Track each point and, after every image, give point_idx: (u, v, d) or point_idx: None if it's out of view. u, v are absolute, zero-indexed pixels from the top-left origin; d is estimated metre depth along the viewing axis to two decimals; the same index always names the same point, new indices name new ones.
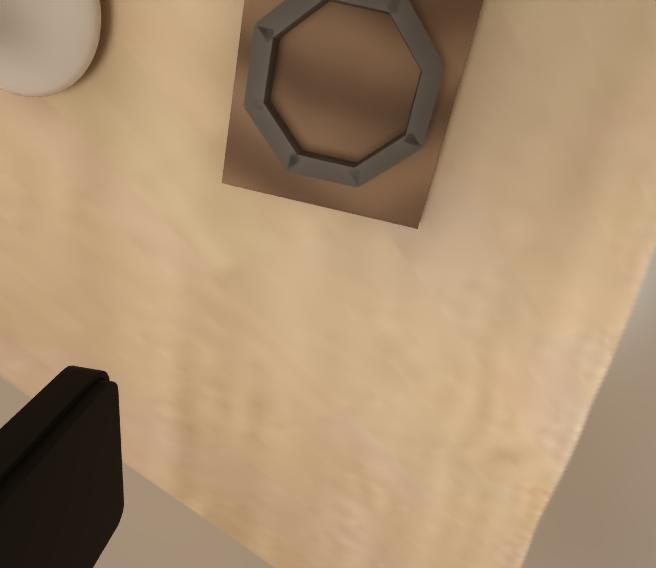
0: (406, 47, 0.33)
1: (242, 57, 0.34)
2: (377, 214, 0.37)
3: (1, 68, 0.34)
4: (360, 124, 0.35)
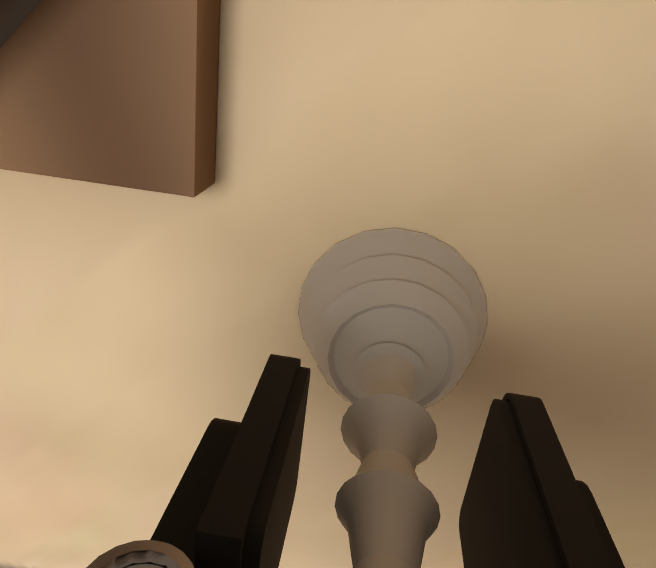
0: None
1: None
2: None
3: None
4: None
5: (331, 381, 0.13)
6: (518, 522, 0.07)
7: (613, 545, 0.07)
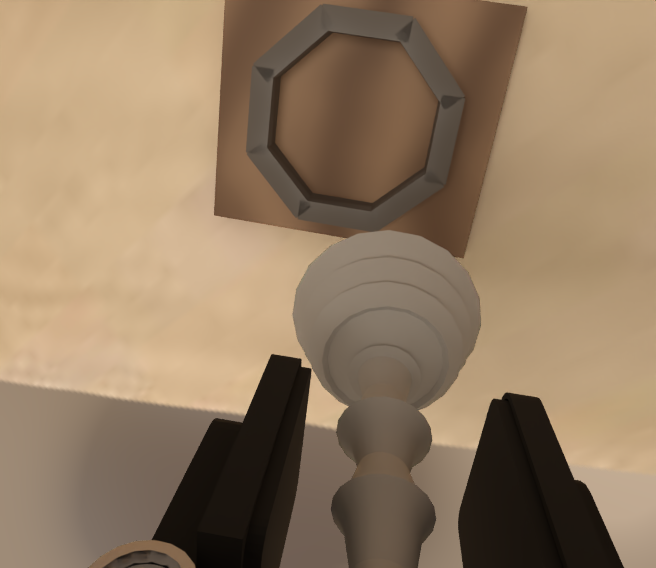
0: (393, 186, 0.32)
1: None
2: (221, 170, 0.33)
3: None
4: (315, 144, 0.32)
5: (326, 383, 0.13)
6: (517, 522, 0.07)
7: (613, 545, 0.07)
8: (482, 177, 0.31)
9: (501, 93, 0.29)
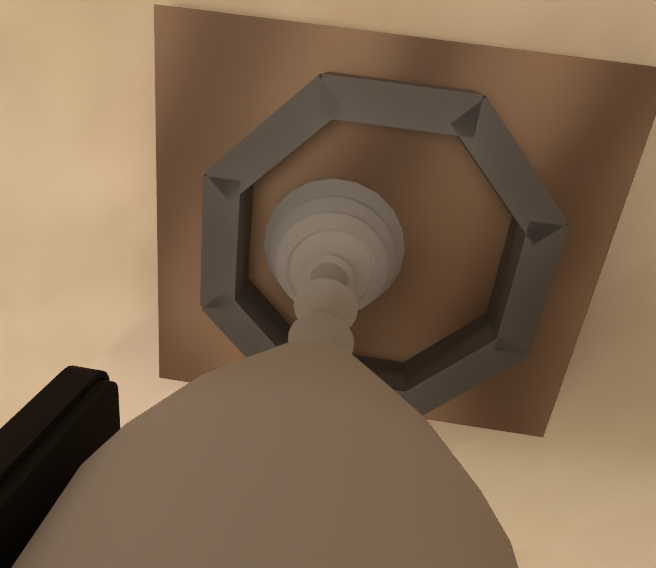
0: (437, 340, 0.20)
1: (415, 48, 0.17)
2: (167, 317, 0.21)
3: None
4: None
5: (289, 290, 0.18)
6: None
7: None
8: (578, 327, 0.20)
9: (617, 205, 0.18)
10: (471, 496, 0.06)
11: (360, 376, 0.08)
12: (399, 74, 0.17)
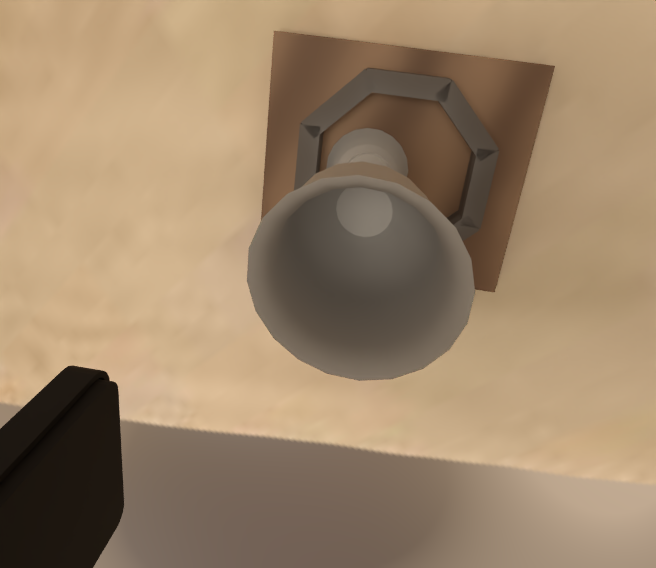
0: None
1: (416, 54, 0.30)
2: None
3: None
4: None
5: None
6: None
7: None
8: (512, 218, 0.33)
9: (530, 143, 0.32)
10: (422, 193, 0.20)
11: None
12: (407, 69, 0.31)
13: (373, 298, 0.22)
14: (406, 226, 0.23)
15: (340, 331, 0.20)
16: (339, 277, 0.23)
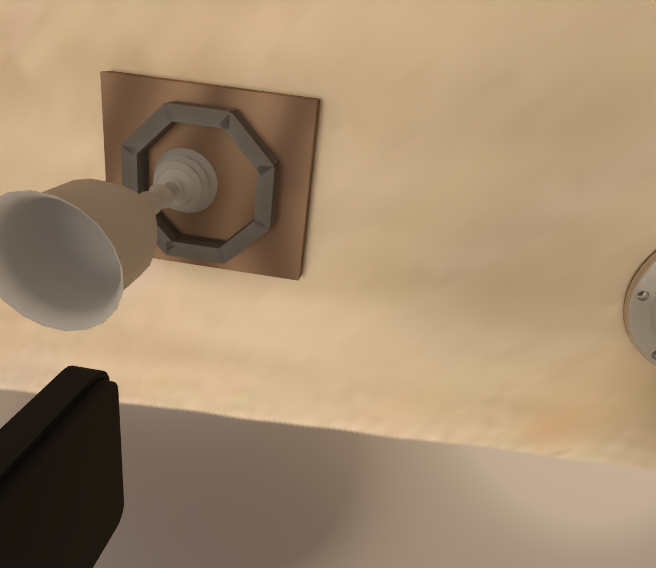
0: (240, 228, 0.42)
1: (211, 91, 0.38)
2: None
3: None
4: None
5: None
6: None
7: None
8: (303, 220, 0.41)
9: (308, 160, 0.40)
10: (132, 201, 0.28)
11: (124, 186, 0.30)
12: (206, 102, 0.39)
13: (119, 278, 0.30)
14: None
15: (69, 298, 0.28)
16: (99, 263, 0.31)
